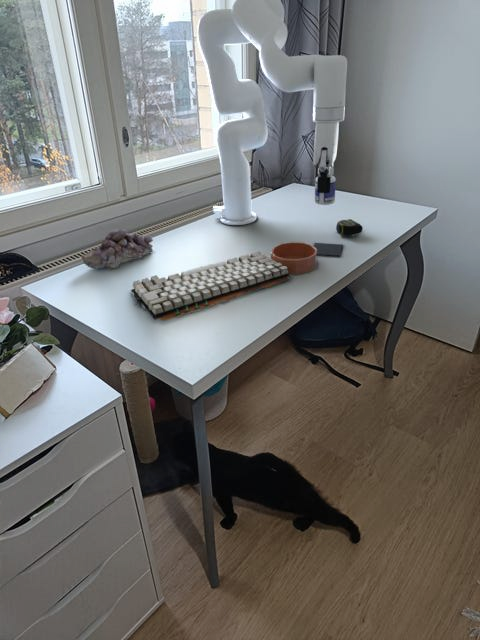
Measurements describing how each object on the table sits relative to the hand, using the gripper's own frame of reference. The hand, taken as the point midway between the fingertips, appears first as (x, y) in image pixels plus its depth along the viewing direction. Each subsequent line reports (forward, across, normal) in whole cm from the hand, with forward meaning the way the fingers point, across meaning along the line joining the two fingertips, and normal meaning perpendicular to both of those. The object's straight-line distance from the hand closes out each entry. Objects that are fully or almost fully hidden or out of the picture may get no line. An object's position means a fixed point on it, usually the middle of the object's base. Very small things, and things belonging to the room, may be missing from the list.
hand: (325, 188), depth 118 cm
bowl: (+18, +10, -6) cm, 21 cm away
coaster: (+18, -2, +1) cm, 18 cm away
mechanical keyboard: (+18, +26, -24) cm, 40 cm away
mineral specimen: (+18, +16, -56) cm, 61 cm away
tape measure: (+18, -16, +6) cm, 25 cm away
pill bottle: (+4, 0, 0) cm, 4 cm away
